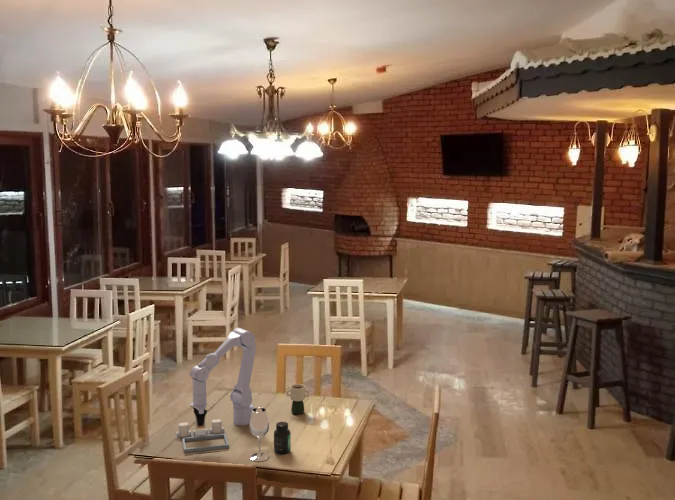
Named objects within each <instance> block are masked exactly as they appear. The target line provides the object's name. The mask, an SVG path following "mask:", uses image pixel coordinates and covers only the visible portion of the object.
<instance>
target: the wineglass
mask: <svg viewBox="0 0 675 500" xmlns="http://www.w3.org/2000/svg"><path fill="white" fill-rule="evenodd" d="M248 425H249V427H248V428H249V432H250V434H251V435H252V436H253V437H254V438H257V441H258V442H257V443H258V452H257V453H252V454H251V455H250V456H249V459H250V460H251V461H252V462H264V461H267V460H269V458H270V456H269V454H267V453H264V452H261V439H262V438H263V437H264V436H266V435H267V434H268V432H269V430H270V423H269V417H268V412H267V408H264V407H260V406H259V407H254V409H252V413H251V418H250V424H248Z"/></svg>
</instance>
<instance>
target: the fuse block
mask: <svg viewBox="0 0 675 500" xmlns="http://www.w3.org/2000/svg"><path fill="white" fill-rule="evenodd" d="M216 434H226V430H225V428H224V426H222V433H215V434H212V427H210V428H209V429H208V428H206V427H205V428H204V430H195V429H193V431H191V430H190V429H189V436H186V437H179V430H178V431H176V433H175V434H174V435H175V436H174V437H175V440H179V439H182V438H187V437H197V436H206V435H216ZM226 435H227V434H226Z"/></svg>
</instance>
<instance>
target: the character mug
mask: <svg viewBox="0 0 675 500" xmlns="http://www.w3.org/2000/svg"><path fill="white" fill-rule="evenodd" d="M285 393H286V397H290V400H291V401H292V403H291V408H290V409H291V410H290V411H291V413H292V414H295V415H299V414H300V415H301V414H303V413H304V412H305V404H304V400H306V399H305V398H306V397H307V398H309V397H310V390H309V389H306V385H305V384H302V383H295V384H292V385H290V387H289V389H286V391H285Z"/></svg>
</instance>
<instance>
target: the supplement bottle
mask: <svg viewBox="0 0 675 500" xmlns="http://www.w3.org/2000/svg"><path fill="white" fill-rule="evenodd" d="M275 424H276V425H275V430H274V431H273V452H274V454H276V455H279V456H284V455H288V454H290V452H291V447H292V446H291V445H292V444H291V443H292V442H291V439H292V438H291V435H292V434H291V430H290V429H289V423H288V422H287V421H278V422H277V423H275Z"/></svg>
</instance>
